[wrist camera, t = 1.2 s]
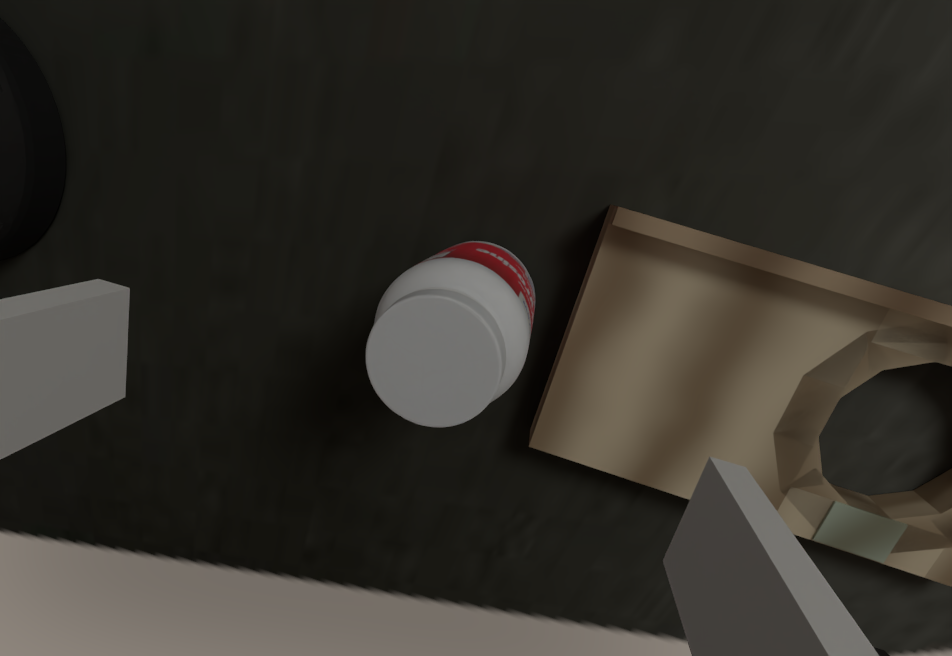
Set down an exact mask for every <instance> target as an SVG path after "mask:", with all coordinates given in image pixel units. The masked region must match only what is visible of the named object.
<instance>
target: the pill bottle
mask: <svg viewBox="0 0 952 656" xmlns="http://www.w3.org/2000/svg"><path fill="white" fill-rule="evenodd" d="M534 311H535V291H534V286H533V282H532V280H531V277H530V275H529V273H528V272H527V270H526V268H525V267H524V265H523V264H522V263H521V261H520V260H519V259H518V258H517V257H516V256H515V255H513V254H512V253H511V252H509V251H508V250H506V249H505V248H503V247H501V246H498V245H496V244H493V243H489V242H483V241H470V242H464V243H460V244H457V245H454V246H452V247H450V248H447V249H445V250H443V251H441V252H439V253H438V254H436V255H434V256H432V257H430V258H428V259H426V260H424V261H422V262H420V263H418V264H416V265H415V266H413V267H411V268H410V269H408V270H407V271H405V272H404V273H403V274H402V275H400V276H399V277H398V278H397V279H396V280H395V281H394V282H393V283H392V284H391V285H390V286H389V287H388V289H387V290H386V292H385V293H384V295H383V297H382V299H381V301H380V303H379V305H378V308H377V312H376V315H375V321H374V326H373V328H372V330H371V332H370V335H369V337H368V341H367V345H366V367H367V372H368V376H369V379H370V381H371V384H372V386H373V388H374V390H375V391H376V393H377V395H378V396H379V397H380V399H381V400H382V401H383V402H384V403H385V404H386V405H387V406H388V407H389V408H390V409H391V410H392V411H394V412H395V413H396V414H398V415H400V416H401V417H403V418H405V419H406V420H409V421H411V422H413V423H416V424H419V425H424V426H429V427H449V426H454V425H458V424H461V423H464V422H466V421H468V420H470V419H472V418H473V417H475V416H476V415H478V414H479V413H480V412H481V411H482V410H484V409H485V408H486V406H487V405H488V404H489V403H490V402H492V401H494V400H495V399H497V398H498V397H499V396H501V395H502V394H503V393H504V392H506V391H507V390H508V389H509V388H510V386H511V385H512V384H513V383H514V382H515V380H516V379H517V377H518V375H519V374H520V372H521V370H522V367H523V365H524V363H525V360H526V356H527V353H528V348H529V341H530V335H531V330H532V324H533V317H534Z"/></svg>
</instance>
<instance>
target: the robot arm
mask: <svg viewBox="0 0 952 656" xmlns="http://www.w3.org/2000/svg"><path fill="white" fill-rule="evenodd" d="M65 170H66V155H65V143H64V135H63V130H62V125H61V121H60V117H59V113H58V110H57V107H56V104H55V101H54V98H53V96H52V93H51V91H50V88H49V86H48V84H47V82H46V80H45V78H44V76H43V74H42V72H41V70H40V68H39V66H38V65H37V63H36V61H35V60H34V58H33V57H32V55H31V54H30V52H29V51H28V49H27V48H26V46H25V45H24V44H23V42H22V41H21V40H20V39H19V37H18V36H17V35H16V34H15V33H14V32H13V30H12V29H11V28H10V27H9V26H8V25H7V24H6V23H5V22H4V21H3V20H2V19H1V18H0V260H3V259H7V258H10V257H13V256H15V255H17V254H19V253H21V252H23V251H24V250H26V249H28V248H29V247H30V246H32V245H33V244H34V243H35V242H36V241H37V240H38V239H39V238H40V237H41V236H42V235H43V234H44V232H45V231H46V230H47V228H48V227H49V225H50V224H51V222H52V220H53V218H54V216H55V214H56V212H57V209H58V207H59V204H60V200H61V197H62V193H63V188H64V181H65ZM129 296H130V288H128V287H124V286H121V285H117V284H114V283H111V282H107V281H104V280H100V279H96V280H91V281H86V282H82V283H77V284H72V285H67V286H62V287H58V288H53V289H48V290H43V291H38V292H34V293H29V294H24V295H19V296H14V297H10V298H5V299H0V459H2V458H4V457H6V456H8V455H10V454H12V453H14V452H16V451H18V450H20V449H22V448H24V447H26V446H28V445H30V444H32V443H34V442H36V441H38V440H40V439H42V438H44V437H46V436H48V435H50V434H52V433H54V432H56V431H58V430H60V429H62V428H64V427H66V426H68V425H70V424H72V423H74V422H76V421H78V420H80V419H82V418H84V417H86V416H88V415H90V414H92V413H94V412H96V411H98V410H100V409H102V408H104V407H106V406H108V405H110V404H112V403H114V402H116V401H118V400H120V399H122V398H124V397H125V389H126V366H127V342H128V319H129ZM663 563H664V566H665V570H666V573H667V576H668V579H669V583H670V586H671V589H672V592H673V596H674V599H675V602H676V605H677V609H678V612H679V615H680V618H681V622H682V625H683V628H684V631H685V635H686V638H687V641H688V644H689V648H690V651H691V654H692V656H890V655H888V654H887V653H886V652H885V651H884V650H881V649H878V648H874V647H873V646H872V645H871V644H870V642H869V641H868V639H867V638H866V636H865V635H864V634H863V632H862V631H861V629H860V628H859V627H858V625H857V624H856V622H855V621H854V619H853V618H852V617H851V615H850V614H849V612H848V611H847V610H846V608H845V607H844V605H843V604H842V602H841V601H840V600H839V598H838V597H837V595H836V594H835V593H834V591H833V590H832V588H831V587H830V585H829V584H828V583H827V581H826V580H825V578H824V577H823V576H822V574H821V573H820V571H819V570H818V568H817V567H816V566H815V564H814V563H813V561H812V560H811V559H810V557H809V556H808V554H807V553H806V551H805V550H804V549H803V547H802V546H801V544H800V543H799V542H798V540H797V539H796V537H795V536H794V534H793V533H792V532H791V530H790V529H789V527H788V526H787V525H786V523H785V522H784V520H783V519H782V517H781V516H780V515H779V513H778V512H777V510H776V509H775V508H774V506H773V505H772V503H771V502H770V501H769V499H768V498H767V496H766V495H765V493H764V492H763V491H762V489H761V488H760V486H759V485H758V484H757V482H756V481H755V479H754V478H753V476H752V475H751V474H750V472H749V471H748V469H747V468H746V467H744V466H740V465H737V464H734V463H730V462H727V461H723V460H720V459H716V458H713V457H709V459H708V461H707V463H706V465H705V467H704V470H703V472H702V474H701V476H700V479H699V481H698V483H697V485H696V488H695V490H694V492H693V494H692V496H691V499H690V501H689V503H688V505H687V508H686V510H685V512H684V514H683V517H682V519H681V521H680V523H679V525H678V528H677V530H676V532H675V534H674V537H673V539H672V541H671V543H670V546H669V548H668V550H667V552H666V554H665V557H664V559H663Z"/></svg>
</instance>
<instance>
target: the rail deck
mask: <svg viewBox="0 0 952 656" xmlns="http://www.w3.org/2000/svg"><path fill="white" fill-rule="evenodd" d="M931 362H938V363H941V364H944V365H948V366H951V367H952V306H949V305H946V304H943V303H939V302H936V301H933V300H929V299H926V298H923V297H919V296H916V295H912V294H909V293H906V292H902V291H899V290H896V289H892V288H889V287H886V286H882V285H879V284H876V283H872V282H869V281H866V280H862V279H859V278H856V277H852V276H849V275H846V274H842V273H839V272H835V271H832V270H829V269H825V268H822V267H819V266H815V265H812V264H809V263H805V262H802V261H799V260H795V259H792V258H789V257H785V256H782V255H779V254H775V253H772V252H768V251H765V250H762V249H758V248H755V247H752V246H748V245H745V244H742V243H738V242H735V241H732V240H728V239H725V238H722V237H718V236H715V235H712V234H708V233H705V232H701V231H698V230H695V229H691V228H688V227H685V226H681V225H678V224H675V223H671V222H668V221H665V220H661V219H658V218H655V217H651V216H648V215H645V214H641V213H638V212H634V211H631V210H628V209H624V208H621V207H618V206H614V205H610V207H609V210H608V213H607V215H606V218H605V221H604V224H603V227H602V229H601V232H600V235H599V238H598V241H597V243H596V246H595V249H594V252H593V255H592V257H591V260H590V263H589V266H588V269H587V271H586V274H585V277H584V280H583V283H582V286H581V288H580V291H579V294H578V297H577V300H576V302H575V305H574V308H573V311H572V314H571V316H570V319H569V322H568V325H567V328H566V330H565V333H564V336H563V339H562V342H561V344H560V347H559V350H558V353H557V356H556V358H555V361H554V364H553V367H552V370H551V373H550V375H549V378H548V381H547V384H546V387H545V389H544V392H543V395H542V398H541V401H540V403H539V406H538V409H537V412H536V415H535V417H534V420H533V423H532V426H531V429H530V438H529V447H532V448H535V449H538V450H541V451H544V452H547V453H550V454H553V455H556V456H559V457H562V458H565V459H568V460H571V461H574V462H577V463H580V464H583V465H586V466H589V467H592V468H595V469H598V470H601V471H604V472H607V473H610V474H613V475H616V476H619V477H622V478H625V479H628V480H631V481H634V482H637V483H640V484H643V485H646V486H649V487H652V488H655V489H658V490H661V491H664V492H667V493H671V494H674V495H677V496H680V497H683V498H686V499H689V500H690V499H691V496H692V494H693V492H694V490H695V488H696V485H697V483H698V481H699V479H700V476H701V474H702V472H703V470H704V467H705V465H706V463H707V461H708V459H709V457H713V458H716V459H720V460H723V461H727V462H730V463H734V464H737V465H740V466H744V467H746V468H747V469H748V471H749V472H750V474H751V475H752V476H753V478H754V479H755V481H756V482H757V484H758V485H759V486H760V488H761V489H762V491H763V492H764V493H765V495H766V496H767V498H768V499H769V501H770V502H771V503H772V505H773V506H774V508H775V509H776V510H777V512H778V513H779V515H780V516H781V517H782V519H783V520H784V522H785V523H786V525H787V526H788V527H789V529H790V530H791V532H792V533H793V534H794V535H797V536H800V537H803V538H806V539H809V540H812V541H815V542H818V543H821V544H824V545H827V546H830V547H833V548H836V549H839V550H842V551H845V552H849V553H852V554H855V555H858V556H861V557H864V558H867V559H870V560H873V561H876V562H879V563H882V564H885V565H888V566H891V567H894V568H897V569H900V570H903V571H906V572H909V573H912V574H915V575H918V576H921V577H924V578H927V579H930V580H933V581H936V582H939V583H942V584H945V585H948V586H951V587H952V469H950V470H948V471H946V472H945V473H943V474H941V475H939V476H938V477H936V478H934V479H932V480H931V481H929V482H927V483H925V484H924V485H922V486H920V487H918V488H917V489H915V490H913V491H905V492H897V493H888V494H879V495H871V496H867V495H864V494H860V493H857V492H854V491H851V490H848V489H845V488H842V487H839V486H836V485H833V484H830V483H829V482H828V481H827V480H826V479H825V478H824V477H823V476H822V467H821V457H820V447H819V435H820V433H821V431H822V430H823V428H824V426H825V424H826V422H827V421H828V419H829V417H830V415H831V413H832V412H833V410H834V408H835V406H836V404H837V403H838V401H839V399H840V398H841V397H843V396H844V395H846V394H847V393H849V392H850V391H852V390H853V389H855V388H856V387H858V386H859V385H861V384H862V383H864V382H865V381H867V380H868V379H870V378H871V377H873V376H875V375H876V374H878V373H879V372H881V371H882V370H887V369H893V368H900V367H906V366H912V365H918V364H925V363H931Z"/></svg>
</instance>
